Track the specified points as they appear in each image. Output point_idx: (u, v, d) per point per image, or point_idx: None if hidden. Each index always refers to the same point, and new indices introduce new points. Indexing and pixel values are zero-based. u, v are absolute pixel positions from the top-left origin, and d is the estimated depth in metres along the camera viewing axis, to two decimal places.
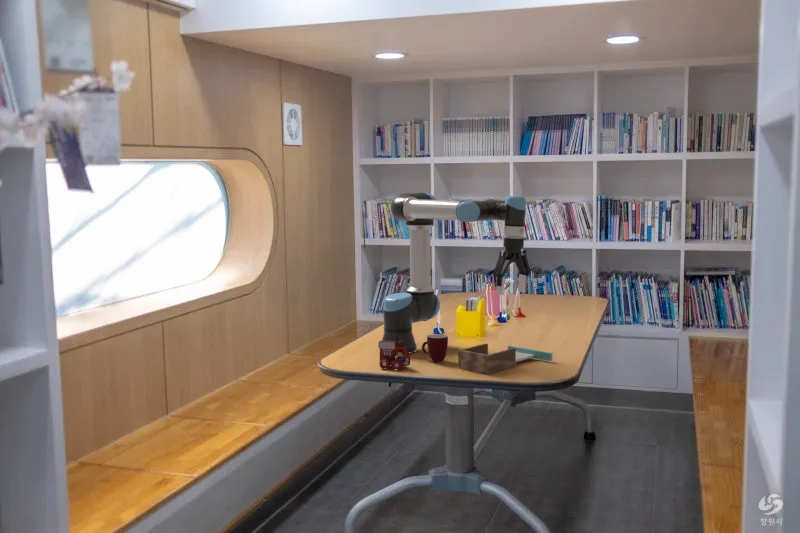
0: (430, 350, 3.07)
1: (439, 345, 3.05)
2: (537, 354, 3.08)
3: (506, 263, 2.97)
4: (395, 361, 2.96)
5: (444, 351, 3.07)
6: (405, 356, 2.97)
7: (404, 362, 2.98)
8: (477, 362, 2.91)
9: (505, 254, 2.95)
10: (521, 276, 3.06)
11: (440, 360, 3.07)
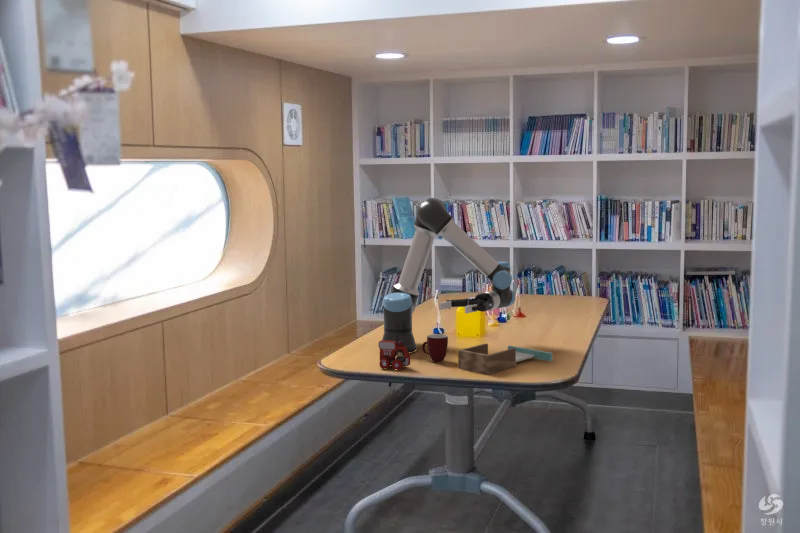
0: (430, 350, 3.07)
1: (439, 345, 3.05)
2: (537, 354, 3.08)
3: None
4: (395, 361, 2.96)
5: (444, 351, 3.07)
6: (405, 356, 2.97)
7: (404, 362, 2.98)
8: (477, 362, 2.91)
9: (489, 307, 3.22)
10: (450, 304, 3.24)
11: (440, 360, 3.07)
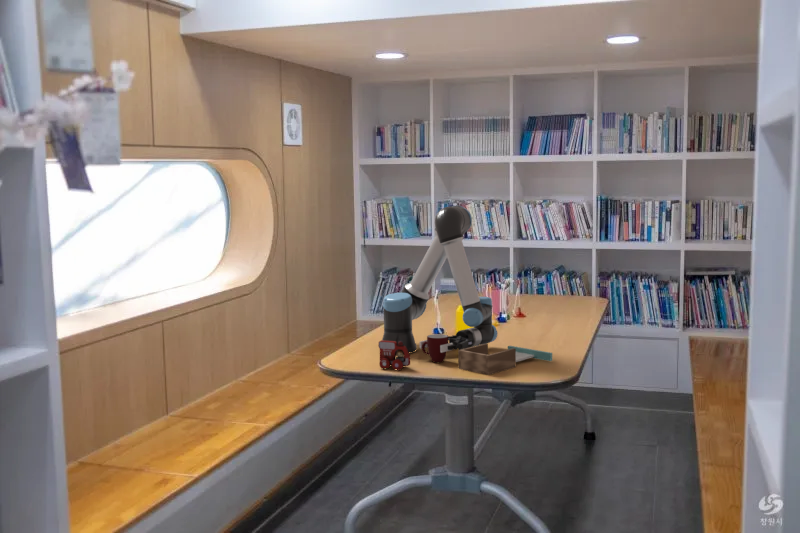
0: (430, 350, 3.07)
1: (439, 345, 3.05)
2: (537, 354, 3.08)
3: None
4: (395, 361, 2.96)
5: None
6: (405, 356, 2.97)
7: (404, 362, 2.98)
8: (477, 362, 2.91)
9: None
10: None
11: (440, 360, 3.07)
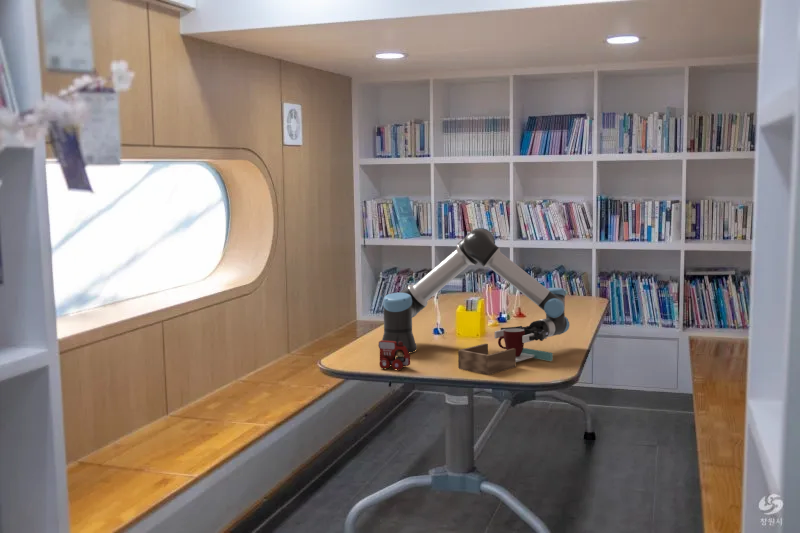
0: (507, 344, 3.05)
1: (517, 339, 3.03)
2: (537, 354, 3.08)
3: None
4: (395, 361, 2.96)
5: (522, 345, 3.05)
6: (405, 356, 2.97)
7: (404, 362, 2.98)
8: (477, 362, 2.91)
9: None
10: None
11: (518, 354, 3.06)
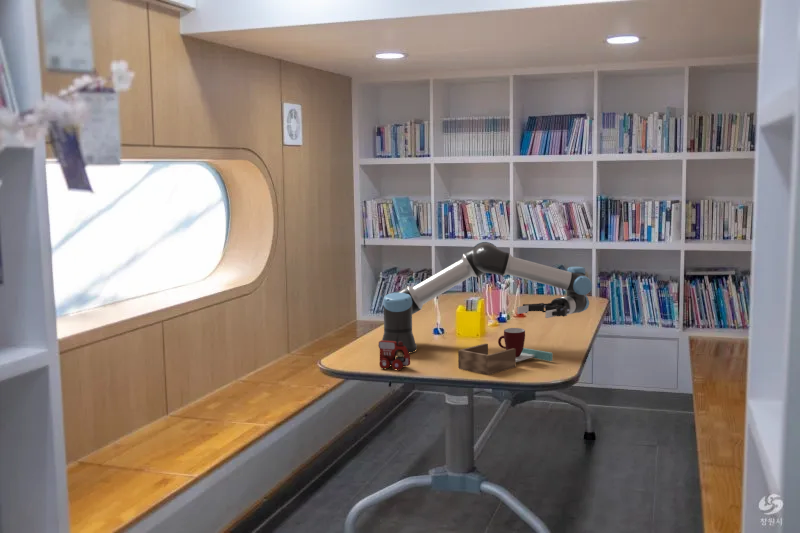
0: (508, 345, 3.05)
1: (517, 340, 3.03)
2: (537, 354, 3.08)
3: None
4: (395, 361, 2.96)
5: (522, 345, 3.05)
6: (405, 356, 2.97)
7: (404, 362, 2.98)
8: (477, 362, 2.91)
9: (567, 312, 3.22)
10: (527, 308, 3.24)
11: (518, 354, 3.06)
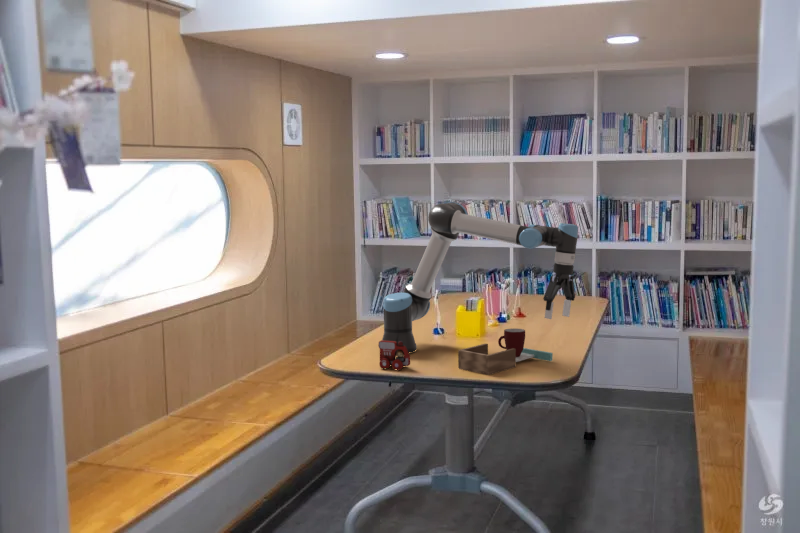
0: (508, 344, 3.05)
1: (517, 339, 3.03)
2: (537, 354, 3.08)
3: (556, 288, 3.06)
4: (395, 361, 2.96)
5: (522, 345, 3.05)
6: (405, 356, 2.97)
7: (404, 362, 2.98)
8: (477, 362, 2.91)
9: (556, 279, 3.04)
10: (566, 301, 3.15)
11: (518, 354, 3.06)
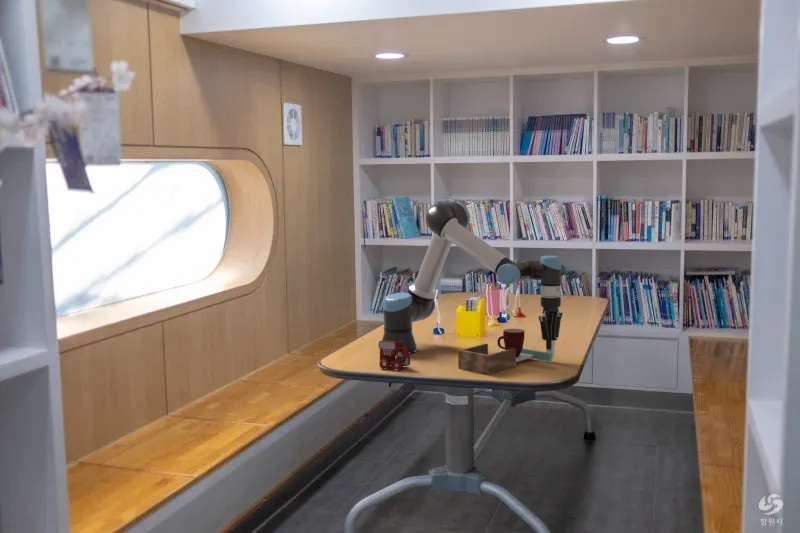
0: (507, 345, 3.05)
1: (516, 340, 3.03)
2: (536, 354, 3.08)
3: (549, 325, 3.03)
4: (395, 361, 2.96)
5: (521, 345, 3.05)
6: (405, 356, 2.97)
7: (404, 362, 2.98)
8: (477, 362, 2.91)
9: (545, 319, 3.00)
10: None
11: (517, 355, 3.05)
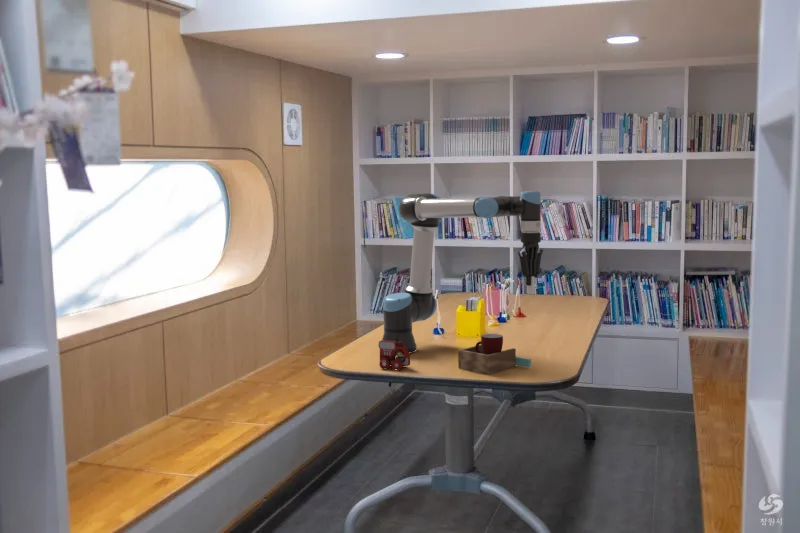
0: (485, 350, 2.95)
1: (494, 345, 2.93)
2: None
3: (529, 261, 3.01)
4: (395, 361, 2.96)
5: (499, 351, 2.95)
6: (405, 356, 2.97)
7: (404, 362, 2.98)
8: (477, 362, 2.91)
9: (524, 254, 2.98)
10: None
11: None
